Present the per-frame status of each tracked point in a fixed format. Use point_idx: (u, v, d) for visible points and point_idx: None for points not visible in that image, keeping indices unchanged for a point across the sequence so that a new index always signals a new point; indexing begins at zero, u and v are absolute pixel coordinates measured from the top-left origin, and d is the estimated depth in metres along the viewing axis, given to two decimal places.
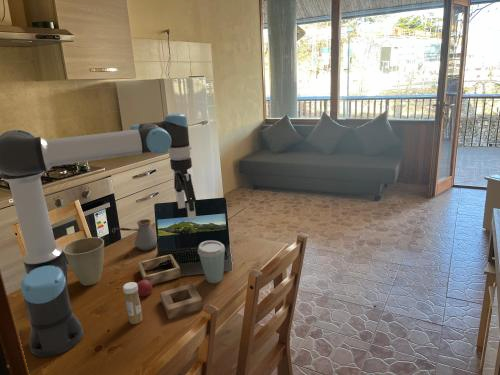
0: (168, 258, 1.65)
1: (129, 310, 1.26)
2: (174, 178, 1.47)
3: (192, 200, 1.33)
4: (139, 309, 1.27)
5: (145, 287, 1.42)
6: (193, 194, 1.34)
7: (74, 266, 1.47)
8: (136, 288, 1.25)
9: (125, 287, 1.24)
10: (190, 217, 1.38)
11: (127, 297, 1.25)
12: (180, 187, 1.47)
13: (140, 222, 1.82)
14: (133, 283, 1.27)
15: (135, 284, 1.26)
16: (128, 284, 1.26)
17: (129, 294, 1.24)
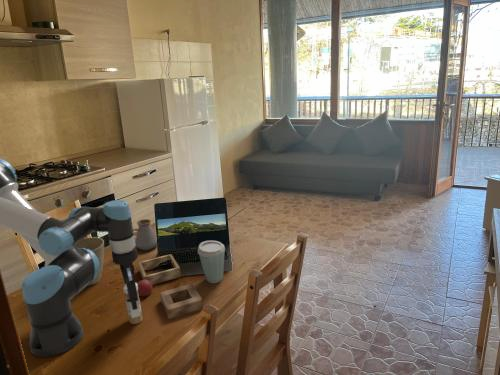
0: (168, 258, 1.65)
1: (129, 310, 1.26)
2: None
3: (134, 300, 1.21)
4: (139, 309, 1.27)
5: (145, 287, 1.42)
6: (135, 294, 1.21)
7: None
8: (136, 288, 1.25)
9: (125, 287, 1.24)
10: (133, 315, 1.26)
11: (127, 297, 1.25)
12: None
13: (140, 222, 1.82)
14: None
15: None
16: None
17: None
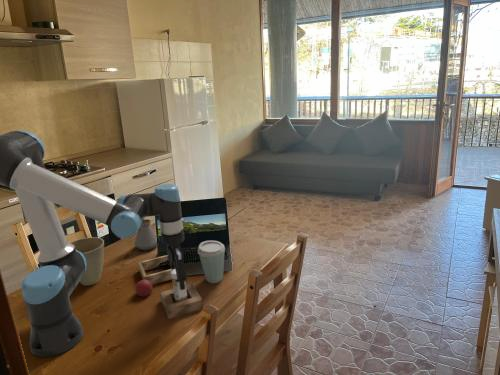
0: None
1: (176, 294, 1.33)
2: None
3: (183, 280, 1.26)
4: None
5: (146, 287, 1.42)
6: (184, 274, 1.26)
7: None
8: None
9: (173, 272, 1.32)
10: (181, 295, 1.31)
11: (175, 282, 1.32)
12: None
13: None
14: None
15: None
16: (175, 270, 1.33)
17: None
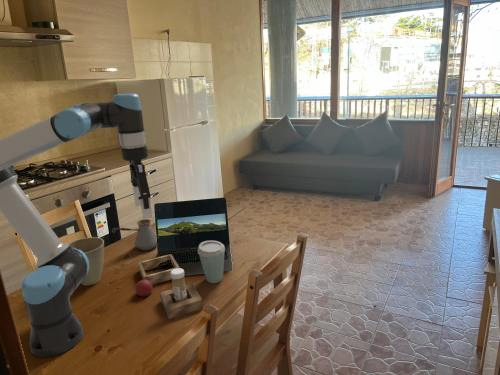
0: (168, 258, 1.65)
1: (176, 295, 1.33)
2: (130, 171, 1.26)
3: (146, 196, 1.12)
4: (185, 293, 1.34)
5: (146, 287, 1.42)
6: (147, 189, 1.13)
7: None
8: (183, 274, 1.32)
9: (173, 273, 1.32)
10: (145, 216, 1.17)
11: (175, 282, 1.32)
12: (137, 181, 1.26)
13: (140, 222, 1.82)
14: (180, 269, 1.34)
15: (182, 270, 1.33)
16: (175, 270, 1.33)
17: (177, 279, 1.31)
